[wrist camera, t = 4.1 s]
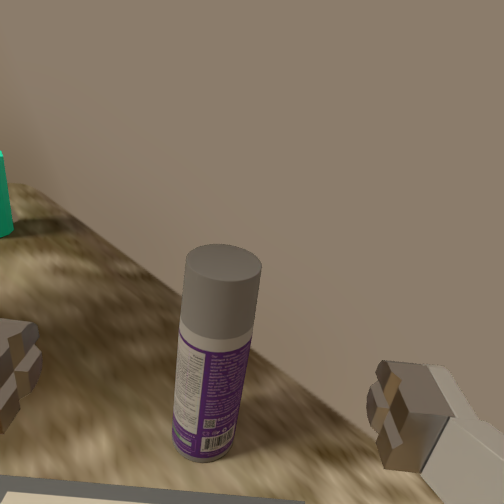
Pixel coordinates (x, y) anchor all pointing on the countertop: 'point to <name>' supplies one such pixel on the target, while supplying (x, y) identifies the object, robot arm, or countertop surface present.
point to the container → (213, 348)
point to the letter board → (109, 494)
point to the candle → (4, 203)
